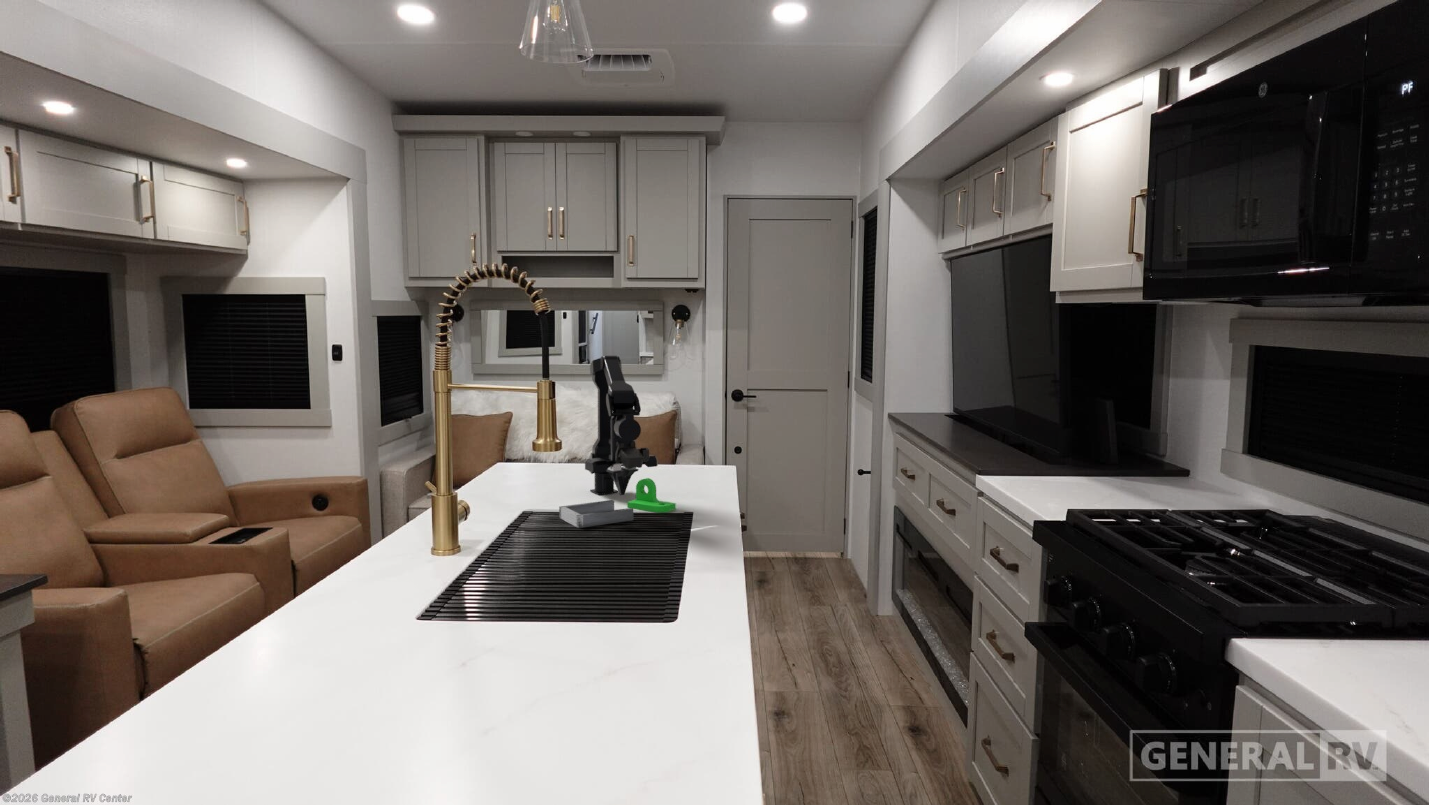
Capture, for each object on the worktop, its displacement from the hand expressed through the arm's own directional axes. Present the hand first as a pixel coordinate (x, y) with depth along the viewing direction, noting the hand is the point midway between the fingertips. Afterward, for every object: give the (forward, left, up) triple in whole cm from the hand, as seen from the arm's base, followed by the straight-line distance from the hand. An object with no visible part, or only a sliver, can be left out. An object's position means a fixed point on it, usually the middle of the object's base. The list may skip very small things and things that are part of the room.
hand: (621, 495), depth 197 cm
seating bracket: (0, -7, -6) cm, 9 cm away
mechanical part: (-2, +10, -6) cm, 12 cm away
